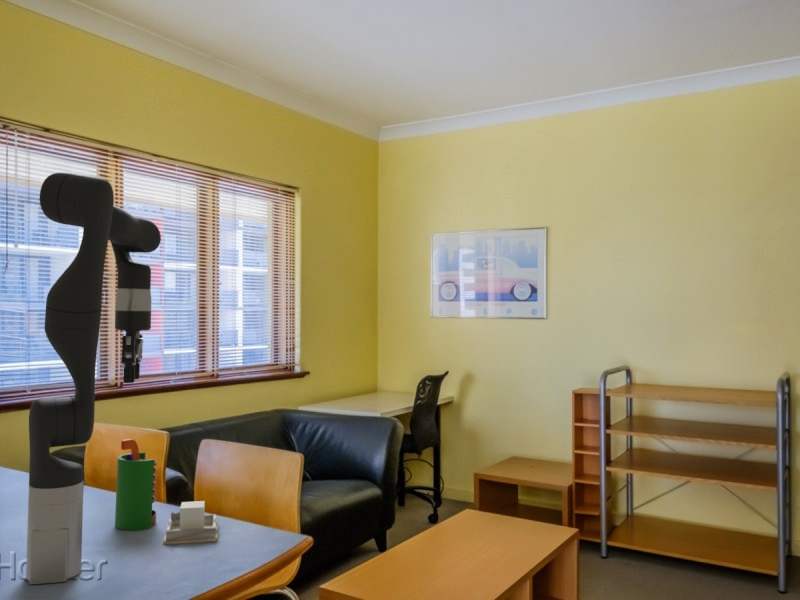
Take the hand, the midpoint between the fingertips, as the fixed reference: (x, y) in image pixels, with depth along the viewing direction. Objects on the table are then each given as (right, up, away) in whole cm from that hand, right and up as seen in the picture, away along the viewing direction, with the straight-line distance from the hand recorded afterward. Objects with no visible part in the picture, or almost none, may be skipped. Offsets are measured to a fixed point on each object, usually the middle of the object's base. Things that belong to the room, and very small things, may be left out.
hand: (131, 380), depth 148 cm
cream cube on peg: (+14, -34, -1) cm, 37 cm away
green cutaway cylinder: (-1, -35, +5) cm, 35 cm away
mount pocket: (+14, -34, -1) cm, 37 cm away
